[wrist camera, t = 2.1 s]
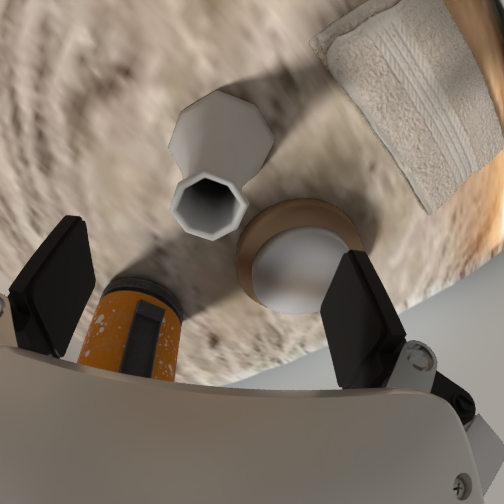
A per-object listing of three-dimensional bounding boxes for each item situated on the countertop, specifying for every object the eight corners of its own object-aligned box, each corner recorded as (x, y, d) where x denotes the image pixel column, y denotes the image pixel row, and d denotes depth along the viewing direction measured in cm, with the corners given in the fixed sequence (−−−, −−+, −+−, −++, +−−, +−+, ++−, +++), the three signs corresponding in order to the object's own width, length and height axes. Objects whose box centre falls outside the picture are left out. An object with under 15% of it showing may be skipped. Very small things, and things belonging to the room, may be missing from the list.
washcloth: (403, -28, 12) (424, -35, 9) (496, 139, 20) (516, 151, 17) (294, 47, 16) (303, 45, 14) (418, 207, 25) (434, 225, 22)
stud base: (247, 189, 22) (249, 211, 20) (374, 210, 24) (390, 233, 21) (229, 291, 29) (228, 319, 26) (333, 300, 31) (341, 325, 28)
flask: (292, 137, 20) (330, 202, 12) (226, 203, 23) (220, 295, 15) (215, 72, 17) (194, 84, 9) (152, 148, 20) (98, 218, 12)
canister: (97, 311, 30) (51, 476, 15) (120, 243, 25) (44, 468, 9) (166, 339, 34) (147, 503, 18) (207, 283, 28) (194, 506, 12)
